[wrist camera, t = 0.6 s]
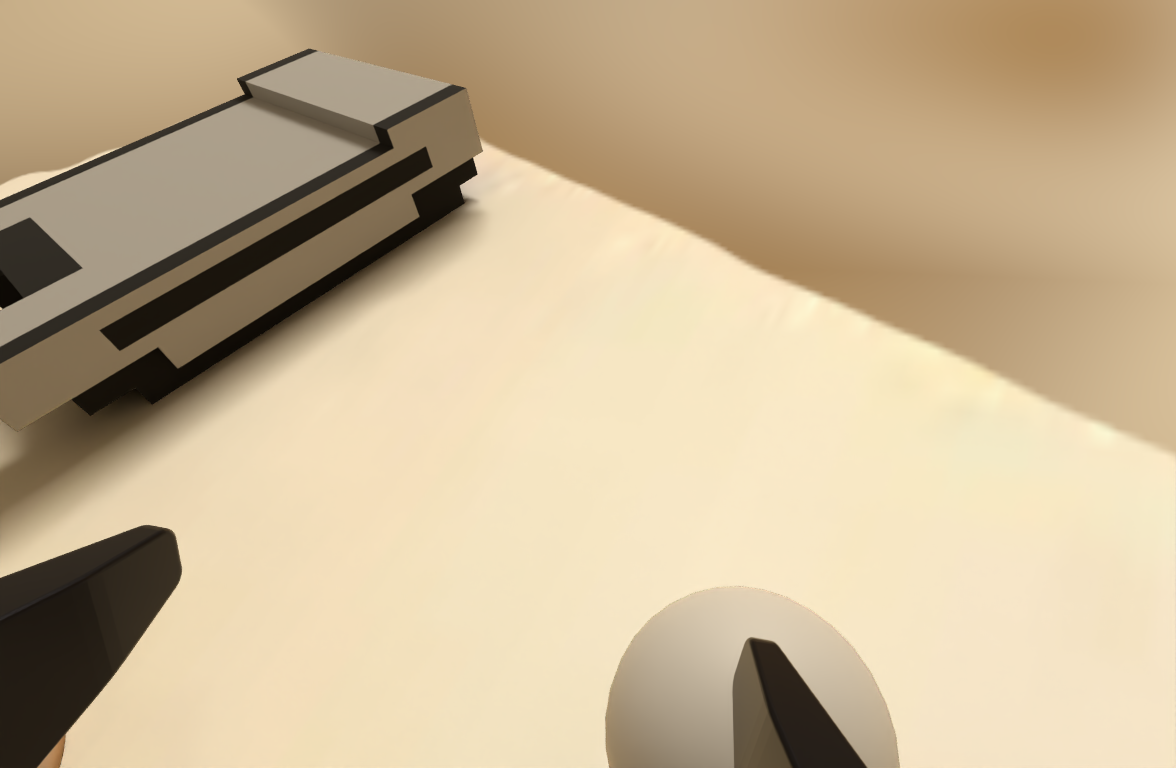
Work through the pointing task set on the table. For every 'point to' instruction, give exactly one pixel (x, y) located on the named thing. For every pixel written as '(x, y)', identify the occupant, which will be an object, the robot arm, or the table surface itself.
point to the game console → (219, 228)
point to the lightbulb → (705, 680)
